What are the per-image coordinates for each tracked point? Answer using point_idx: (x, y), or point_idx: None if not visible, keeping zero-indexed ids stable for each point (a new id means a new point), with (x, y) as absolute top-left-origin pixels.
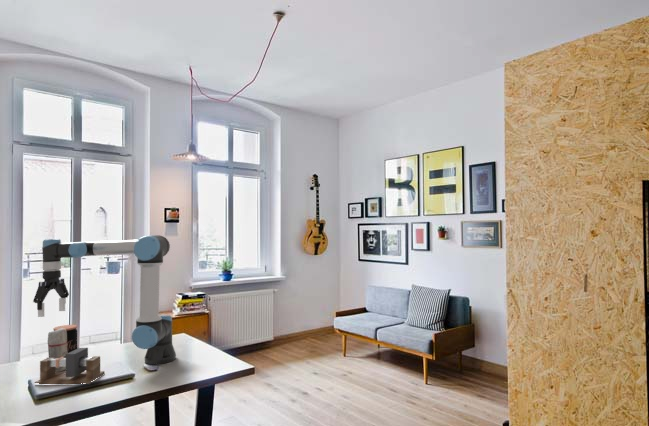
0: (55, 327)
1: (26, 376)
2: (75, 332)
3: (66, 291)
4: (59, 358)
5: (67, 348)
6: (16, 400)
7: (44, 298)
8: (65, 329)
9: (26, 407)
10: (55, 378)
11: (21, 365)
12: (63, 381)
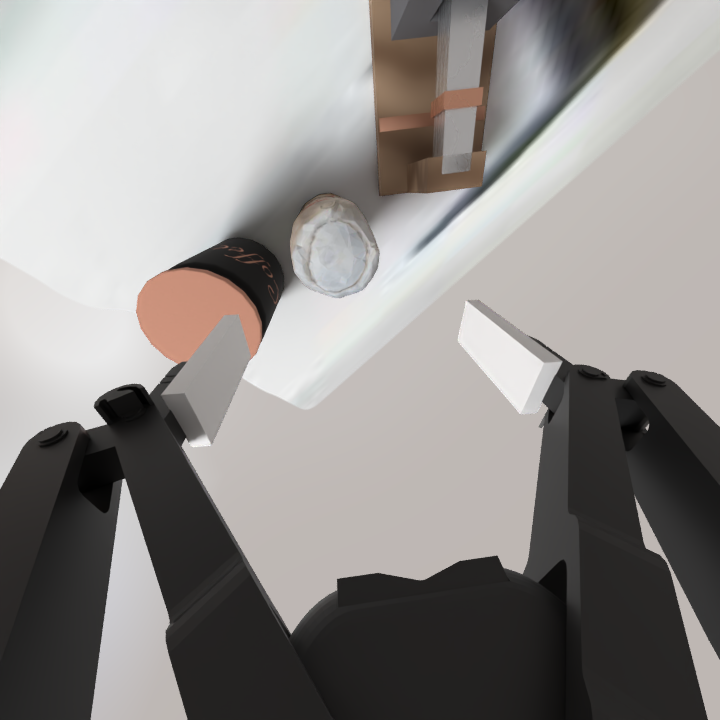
0: None
1: (388, 286)
2: (188, 262)
3: (40, 490)
4: (467, 96)
5: (255, 258)
6: (594, 129)
7: (577, 401)
8: (314, 214)
9: (686, 13)
10: None
11: (307, 374)
12: (492, 39)
